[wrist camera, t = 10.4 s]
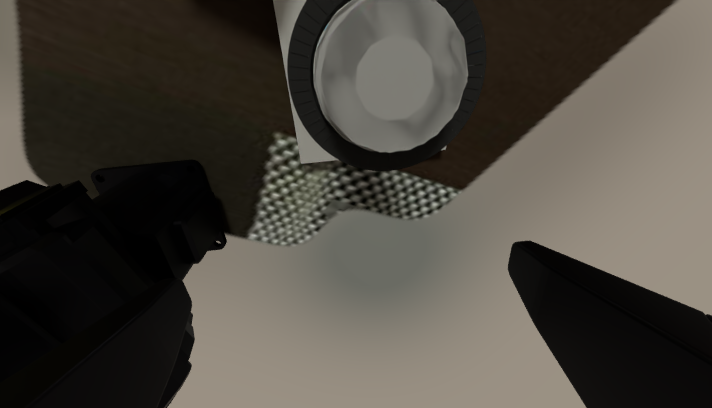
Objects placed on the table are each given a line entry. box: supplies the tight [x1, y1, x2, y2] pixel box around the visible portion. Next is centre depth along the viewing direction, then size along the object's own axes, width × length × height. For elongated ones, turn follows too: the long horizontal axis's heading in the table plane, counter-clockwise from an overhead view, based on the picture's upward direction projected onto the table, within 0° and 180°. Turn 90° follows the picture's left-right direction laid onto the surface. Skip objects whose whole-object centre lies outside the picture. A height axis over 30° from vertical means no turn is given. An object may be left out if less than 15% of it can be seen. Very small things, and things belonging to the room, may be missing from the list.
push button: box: [287, 0, 486, 171], centre depth 12 cm, size 7×5×10 cm
